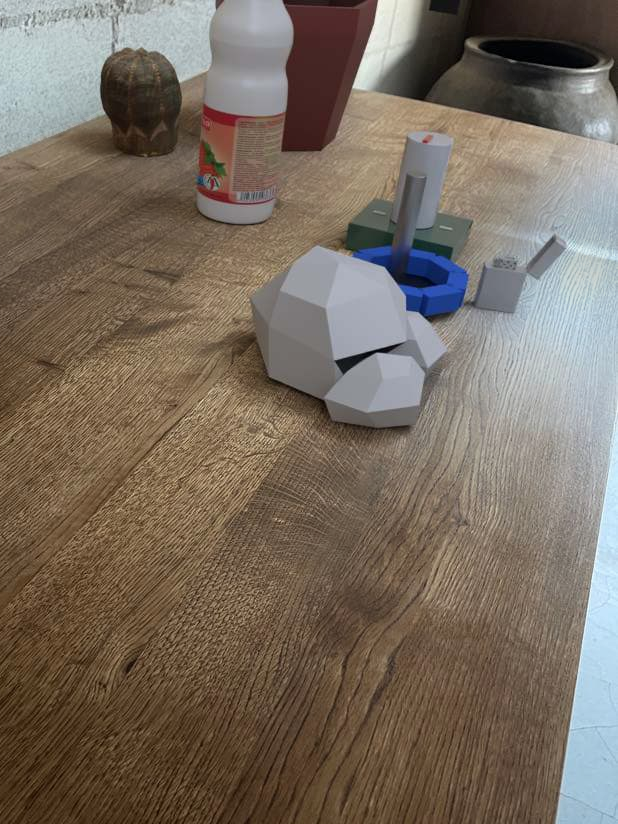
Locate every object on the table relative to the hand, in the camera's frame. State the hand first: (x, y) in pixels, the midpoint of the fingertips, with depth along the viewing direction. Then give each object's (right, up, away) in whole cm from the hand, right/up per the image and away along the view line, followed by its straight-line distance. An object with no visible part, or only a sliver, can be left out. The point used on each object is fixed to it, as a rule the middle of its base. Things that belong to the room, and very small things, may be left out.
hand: (459, 3), depth 91 cm
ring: (-5, -27, +4) cm, 28 cm away
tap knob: (-2, -17, +14) cm, 22 cm away
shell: (-35, +1, +37) cm, 51 cm away
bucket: (-14, +7, +47) cm, 49 cm away
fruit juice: (-22, -14, +20) cm, 33 cm away
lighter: (+6, -29, +5) cm, 30 cm away
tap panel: (-2, -19, +16) cm, 25 cm away
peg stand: (-6, -27, +6) cm, 28 cm away
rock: (-13, -39, -10) cm, 42 cm away
